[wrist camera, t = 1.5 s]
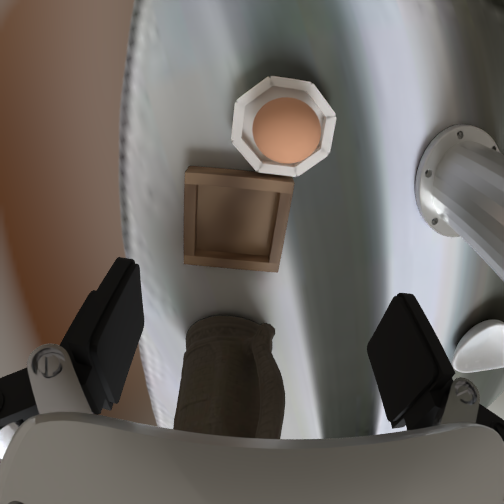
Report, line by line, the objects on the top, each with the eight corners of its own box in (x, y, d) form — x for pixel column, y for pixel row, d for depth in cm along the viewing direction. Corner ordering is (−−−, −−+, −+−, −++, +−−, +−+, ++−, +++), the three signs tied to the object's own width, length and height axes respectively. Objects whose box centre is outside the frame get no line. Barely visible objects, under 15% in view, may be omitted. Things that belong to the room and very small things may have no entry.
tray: (291, 175, 26) (294, 182, 24) (276, 261, 31) (277, 272, 29) (189, 165, 26) (184, 172, 24) (187, 252, 30) (183, 264, 29)
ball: (317, 101, 22) (334, 106, 18) (308, 158, 24) (321, 176, 20) (255, 92, 21) (257, 93, 17) (248, 151, 24) (248, 167, 20)
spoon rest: (434, 359, 42) (449, 391, 36) (470, 307, 36) (492, 340, 30) (505, 351, 44) (519, 374, 38) (535, 309, 38) (552, 332, 32)
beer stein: (250, 375, 41) (252, 508, 24) (177, 356, 39) (154, 495, 22) (301, 301, 34) (333, 474, 17) (210, 272, 32) (183, 462, 15)
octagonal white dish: (334, 87, 22) (341, 88, 20) (319, 174, 26) (324, 181, 24) (239, 73, 21) (238, 72, 20) (229, 163, 26) (228, 169, 24)
